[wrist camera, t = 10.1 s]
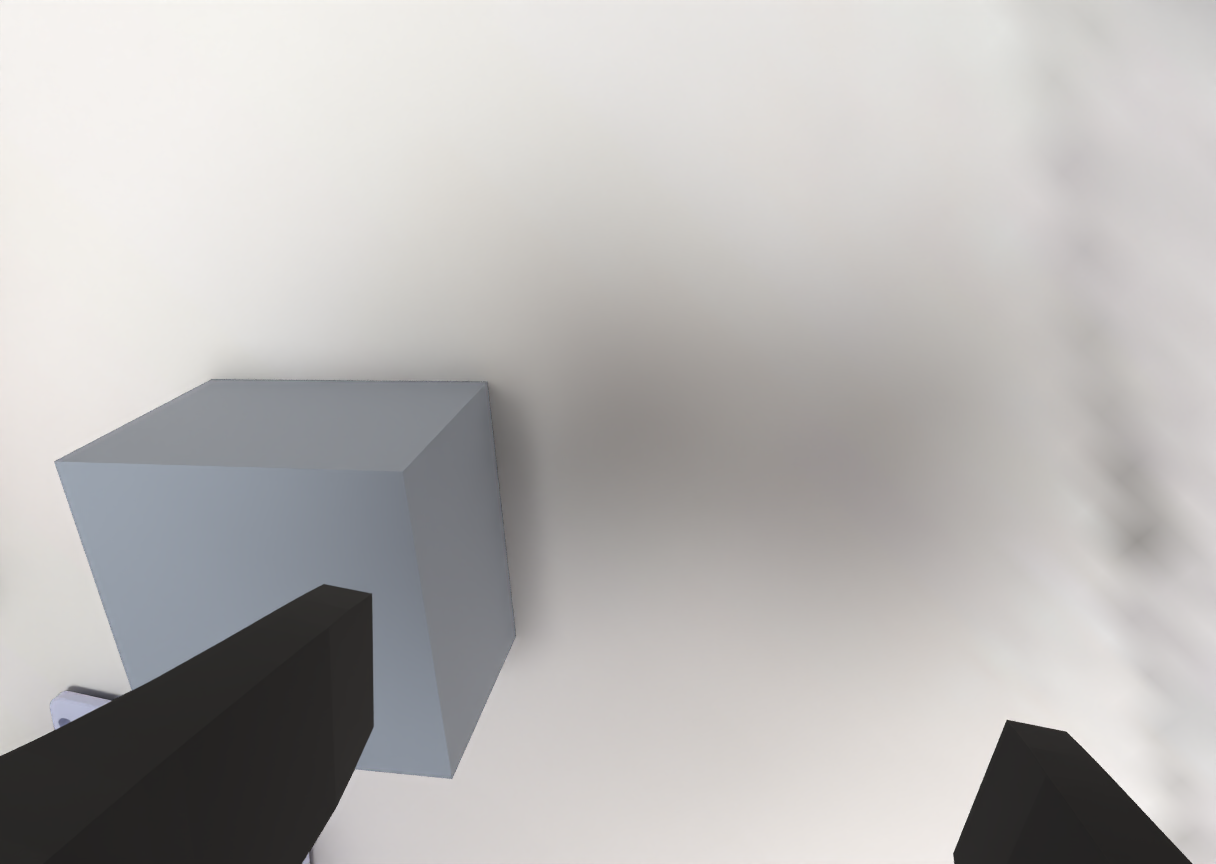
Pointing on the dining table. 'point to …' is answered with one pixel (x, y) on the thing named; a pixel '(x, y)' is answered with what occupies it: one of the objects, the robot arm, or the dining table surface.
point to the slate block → (311, 537)
